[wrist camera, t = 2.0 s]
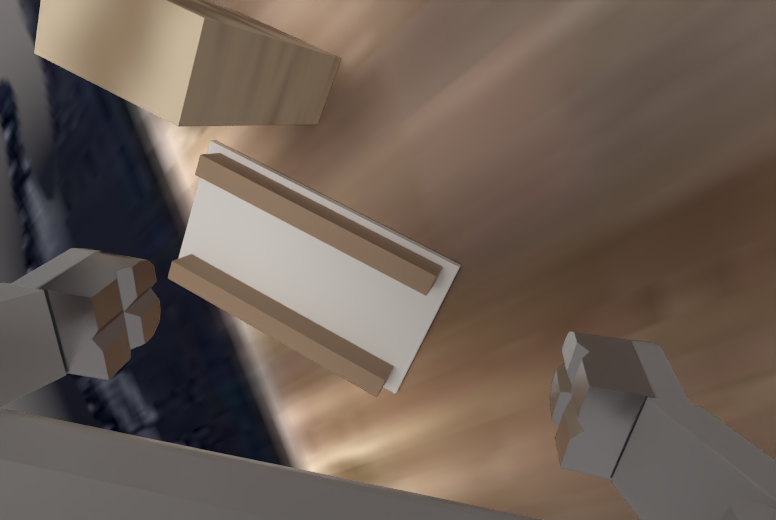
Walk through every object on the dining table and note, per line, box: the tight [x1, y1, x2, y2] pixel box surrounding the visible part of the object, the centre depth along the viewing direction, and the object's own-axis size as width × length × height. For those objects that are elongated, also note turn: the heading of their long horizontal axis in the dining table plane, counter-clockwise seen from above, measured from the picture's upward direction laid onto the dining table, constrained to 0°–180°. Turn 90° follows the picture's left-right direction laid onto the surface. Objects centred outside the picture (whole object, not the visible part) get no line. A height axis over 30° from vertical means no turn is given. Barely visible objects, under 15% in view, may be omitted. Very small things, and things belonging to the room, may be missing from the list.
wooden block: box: [34, 0, 341, 126], centre depth 28 cm, size 8×4×14 cm, turn 66°
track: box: [168, 140, 461, 397], centre depth 36 cm, size 20×11×3 cm, turn 66°
